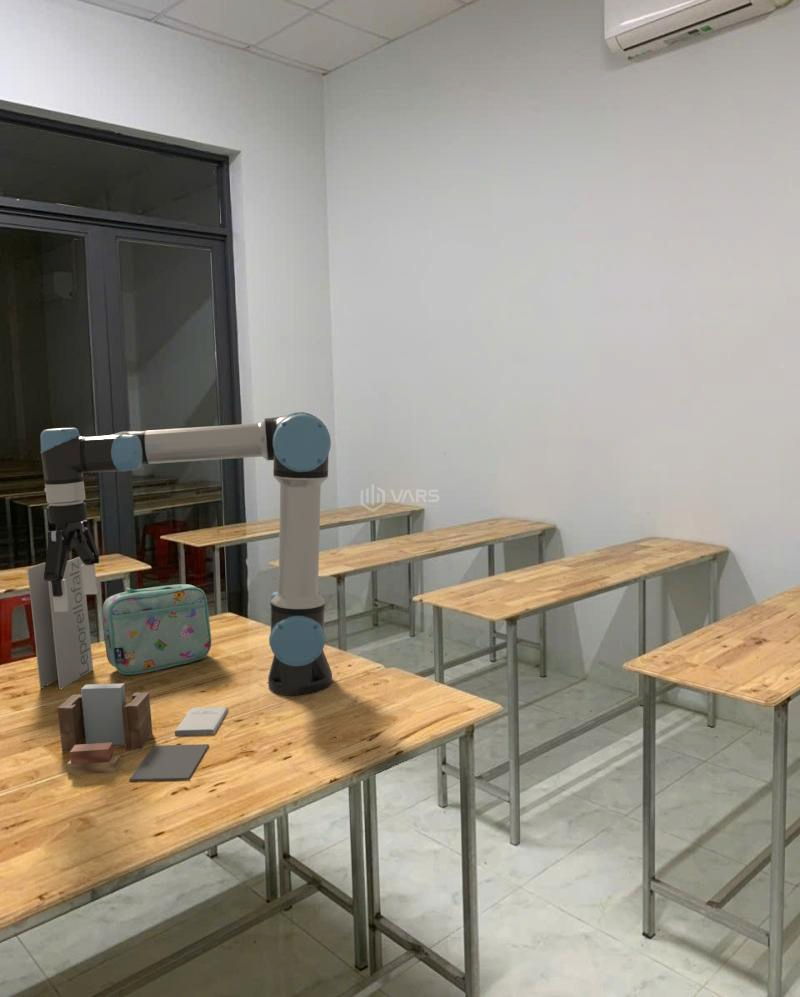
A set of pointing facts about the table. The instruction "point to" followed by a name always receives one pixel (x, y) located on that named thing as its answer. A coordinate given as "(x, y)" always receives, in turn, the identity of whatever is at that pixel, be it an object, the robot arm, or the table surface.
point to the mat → (170, 762)
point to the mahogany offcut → (91, 753)
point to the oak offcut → (95, 767)
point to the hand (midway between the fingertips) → (76, 602)
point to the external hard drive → (201, 721)
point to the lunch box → (156, 628)
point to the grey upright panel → (103, 713)
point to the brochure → (60, 627)
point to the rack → (133, 721)
